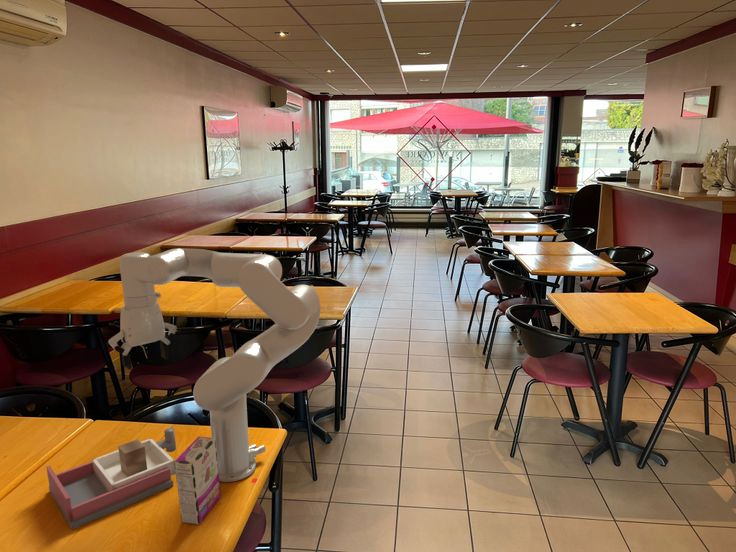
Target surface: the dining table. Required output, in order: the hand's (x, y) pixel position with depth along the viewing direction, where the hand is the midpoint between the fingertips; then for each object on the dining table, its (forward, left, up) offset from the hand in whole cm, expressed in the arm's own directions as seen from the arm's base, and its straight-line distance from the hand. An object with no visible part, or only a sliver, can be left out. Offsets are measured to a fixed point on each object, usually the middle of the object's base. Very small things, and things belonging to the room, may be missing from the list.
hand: (147, 362), depth 141 cm
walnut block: (+7, +2, -28) cm, 29 cm away
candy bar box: (0, +26, -31) cm, 40 cm away
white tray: (+5, +2, -29) cm, 29 cm away
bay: (+13, +2, -30) cm, 33 cm away
